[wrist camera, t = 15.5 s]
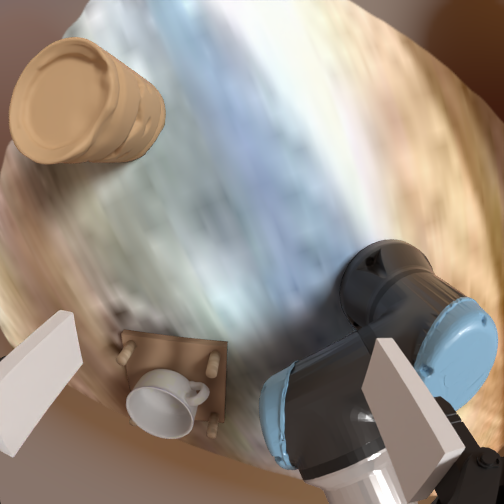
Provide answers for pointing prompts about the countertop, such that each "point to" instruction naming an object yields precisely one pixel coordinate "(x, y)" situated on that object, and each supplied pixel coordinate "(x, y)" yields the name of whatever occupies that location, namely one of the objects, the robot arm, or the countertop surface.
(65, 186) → the countertop surface
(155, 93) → the container
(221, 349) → the rack
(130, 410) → the teacup
